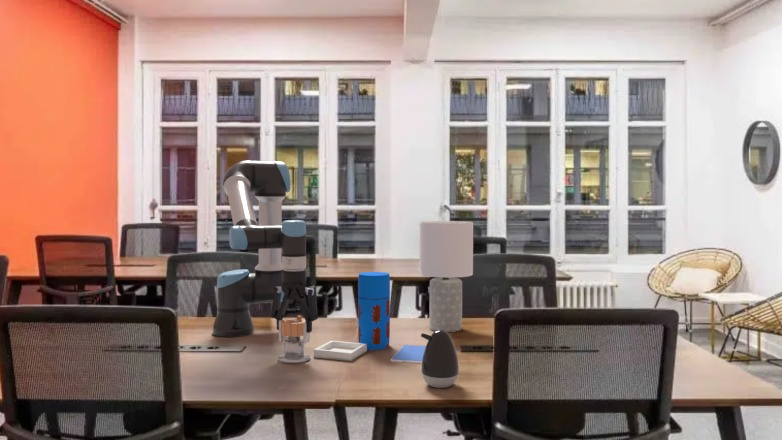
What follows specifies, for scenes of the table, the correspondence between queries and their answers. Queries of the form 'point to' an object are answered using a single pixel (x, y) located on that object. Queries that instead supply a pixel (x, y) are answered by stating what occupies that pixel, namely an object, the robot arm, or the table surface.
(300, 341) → the grey stepped cylinder
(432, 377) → the pump dispenser
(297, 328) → the ring
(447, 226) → the lamp
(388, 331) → the thermos
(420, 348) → the tablet computer
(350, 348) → the tray
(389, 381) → the table surface
